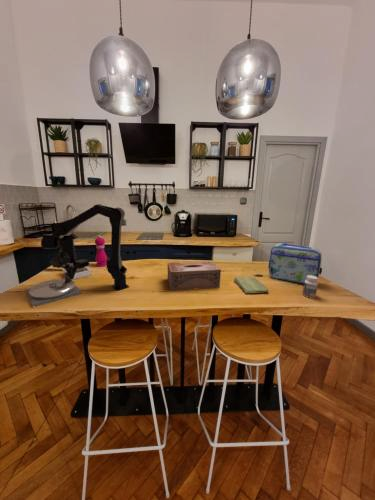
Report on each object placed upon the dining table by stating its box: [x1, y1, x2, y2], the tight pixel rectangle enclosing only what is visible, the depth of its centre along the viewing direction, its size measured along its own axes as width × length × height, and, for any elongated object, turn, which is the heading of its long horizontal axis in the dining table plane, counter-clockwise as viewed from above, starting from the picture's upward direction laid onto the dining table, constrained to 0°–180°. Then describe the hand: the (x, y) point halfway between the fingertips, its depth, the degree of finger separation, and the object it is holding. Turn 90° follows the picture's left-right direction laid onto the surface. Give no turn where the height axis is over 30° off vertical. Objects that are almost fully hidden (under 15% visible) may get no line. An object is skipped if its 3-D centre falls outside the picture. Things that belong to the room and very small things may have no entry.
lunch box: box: [267, 242, 322, 285], centre depth 120 cm, size 26×11×21 cm, turn 57°
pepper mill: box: [94, 235, 108, 268], centre depth 136 cm, size 7×7×20 cm
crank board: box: [25, 284, 83, 307], centre depth 100 cm, size 19×19×1 cm
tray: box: [61, 266, 93, 281], centre depth 122 cm, size 12×12×3 cm
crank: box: [29, 272, 76, 299], centre depth 99 cm, size 18×18×6 cm
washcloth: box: [233, 276, 269, 295], centre depth 112 cm, size 13×18×3 cm
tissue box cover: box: [167, 260, 222, 291], centre depth 114 cm, size 26×14×10 cm, turn 101°
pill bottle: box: [302, 275, 319, 299], centre depth 103 cm, size 6×6×10 cm
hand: (72, 278), depth 105 cm, fingers closed
